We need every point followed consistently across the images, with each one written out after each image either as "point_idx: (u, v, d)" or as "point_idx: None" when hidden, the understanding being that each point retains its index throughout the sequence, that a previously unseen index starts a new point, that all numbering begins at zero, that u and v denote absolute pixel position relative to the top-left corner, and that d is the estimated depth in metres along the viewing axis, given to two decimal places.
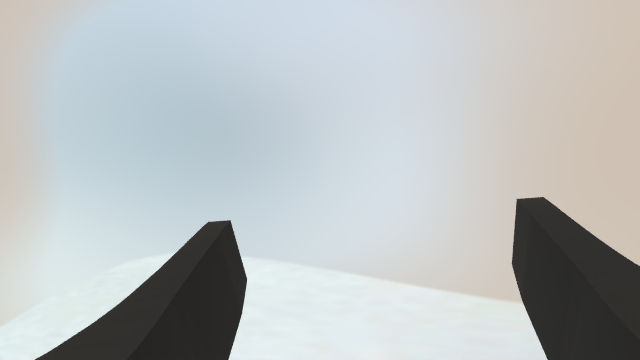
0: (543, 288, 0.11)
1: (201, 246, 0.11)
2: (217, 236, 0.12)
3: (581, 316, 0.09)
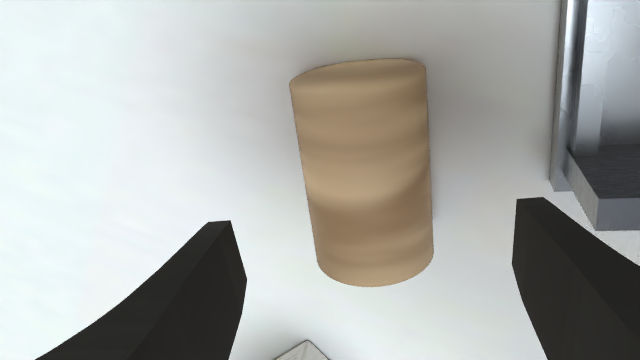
0: (543, 288, 0.11)
1: (201, 246, 0.11)
2: (217, 236, 0.12)
3: (581, 316, 0.09)
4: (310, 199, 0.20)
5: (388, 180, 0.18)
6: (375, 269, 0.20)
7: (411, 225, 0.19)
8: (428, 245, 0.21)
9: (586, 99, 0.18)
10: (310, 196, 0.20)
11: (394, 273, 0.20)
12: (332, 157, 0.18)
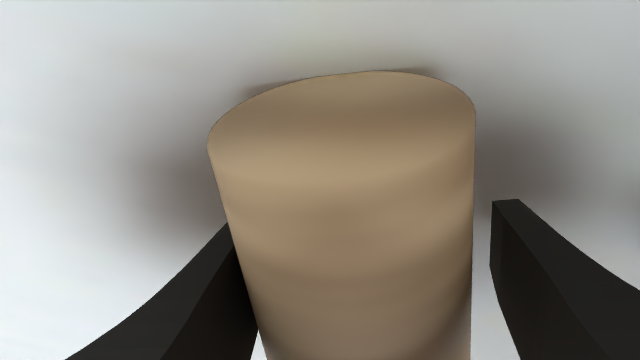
0: (515, 290, 0.11)
1: (225, 244, 0.11)
2: None
3: (548, 317, 0.09)
4: (260, 331, 0.11)
5: (402, 330, 0.09)
6: None
7: None
8: None
9: None
10: (259, 328, 0.11)
11: None
12: (292, 293, 0.09)
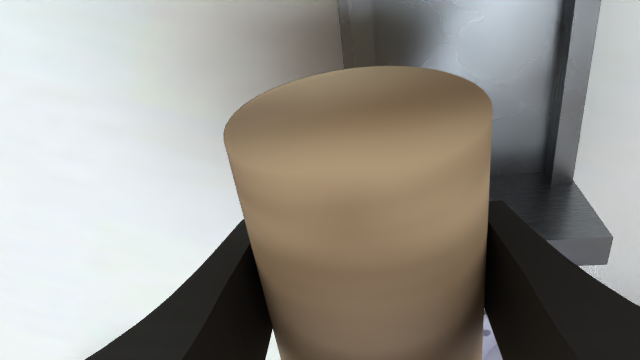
0: (497, 291, 0.11)
1: (240, 243, 0.11)
2: None
3: (526, 318, 0.09)
4: (285, 341, 0.11)
5: (445, 311, 0.10)
6: None
7: None
8: None
9: None
10: (285, 338, 0.11)
11: None
12: (338, 291, 0.09)
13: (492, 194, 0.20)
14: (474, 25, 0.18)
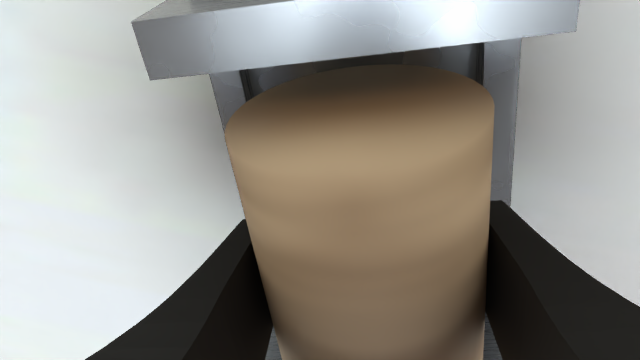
0: (497, 291, 0.11)
1: (240, 243, 0.11)
2: None
3: (526, 318, 0.09)
4: (286, 341, 0.11)
5: (446, 309, 0.09)
6: None
7: None
8: None
9: None
10: (287, 337, 0.11)
11: None
12: (341, 290, 0.09)
13: None
14: None
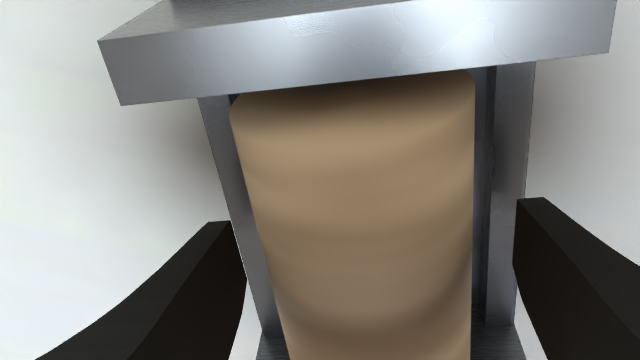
0: (543, 288, 0.11)
1: (201, 246, 0.11)
2: (217, 236, 0.12)
3: (581, 316, 0.09)
4: (283, 305, 0.12)
5: (427, 278, 0.10)
6: None
7: (455, 331, 0.12)
8: (468, 341, 0.13)
9: (257, 285, 0.16)
10: (283, 301, 0.12)
11: None
12: (328, 254, 0.10)
13: None
14: None
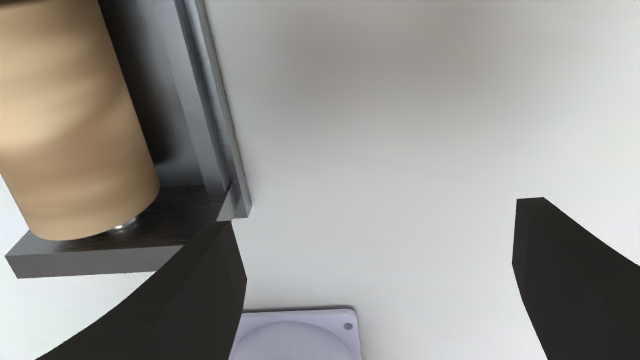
0: (543, 288, 0.11)
1: (201, 246, 0.11)
2: (217, 236, 0.12)
3: (581, 316, 0.09)
4: None
5: (31, 123, 0.16)
6: (54, 222, 0.18)
7: (84, 175, 0.17)
8: (128, 197, 0.19)
9: None
10: None
11: (77, 226, 0.18)
12: None
13: (153, 205, 0.22)
14: None
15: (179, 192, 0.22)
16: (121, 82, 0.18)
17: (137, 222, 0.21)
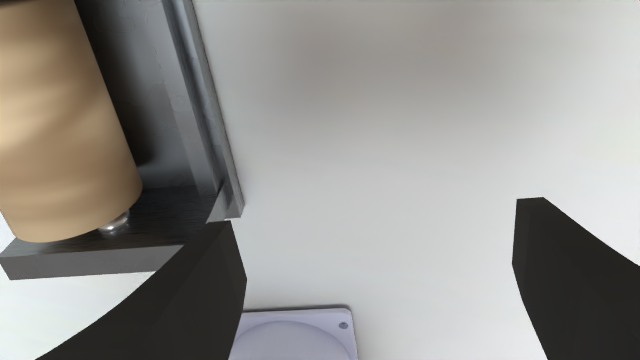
0: (543, 288, 0.11)
1: (201, 246, 0.11)
2: (217, 236, 0.12)
3: (581, 316, 0.09)
4: None
5: None
6: (25, 224, 0.18)
7: (51, 180, 0.17)
8: (100, 203, 0.19)
9: None
10: None
11: (47, 230, 0.18)
12: None
13: (145, 205, 0.22)
14: (94, 55, 0.20)
15: (171, 192, 0.23)
16: (96, 88, 0.18)
17: (129, 223, 0.21)
